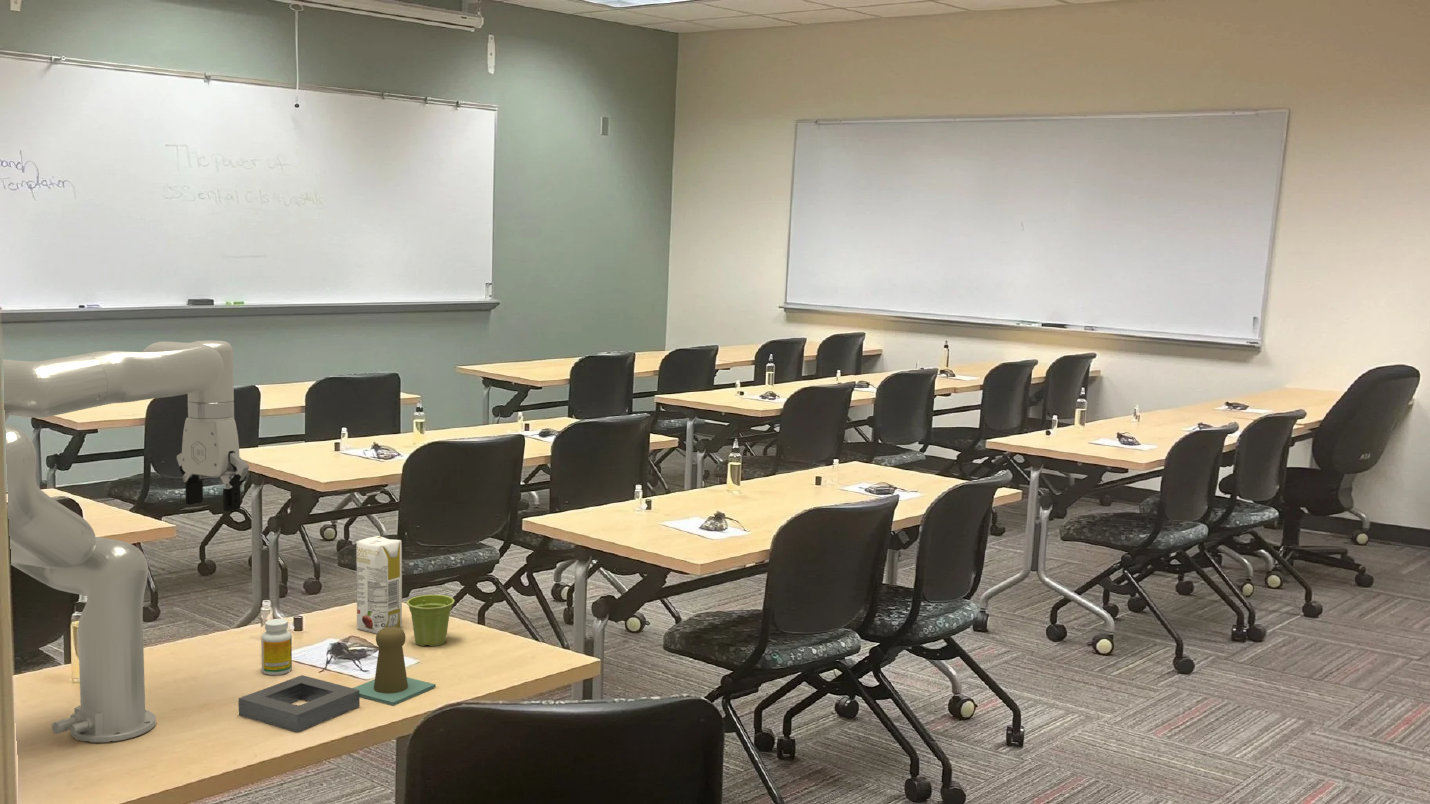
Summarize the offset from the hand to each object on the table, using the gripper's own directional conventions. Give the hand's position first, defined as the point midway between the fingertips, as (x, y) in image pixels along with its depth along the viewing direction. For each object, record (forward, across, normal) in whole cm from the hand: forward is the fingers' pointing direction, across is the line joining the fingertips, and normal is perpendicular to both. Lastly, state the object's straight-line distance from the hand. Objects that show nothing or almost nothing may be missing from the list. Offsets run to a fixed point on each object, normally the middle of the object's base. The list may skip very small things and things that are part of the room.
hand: (213, 506), depth 221 cm
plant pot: (+34, +14, +41) cm, 55 cm away
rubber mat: (+33, +27, +16) cm, 46 cm away
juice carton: (+34, -1, +42) cm, 54 cm away
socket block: (+33, +21, 0) cm, 39 cm away
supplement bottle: (+34, +2, +12) cm, 36 cm away
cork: (+33, +27, +16) cm, 45 cm away
